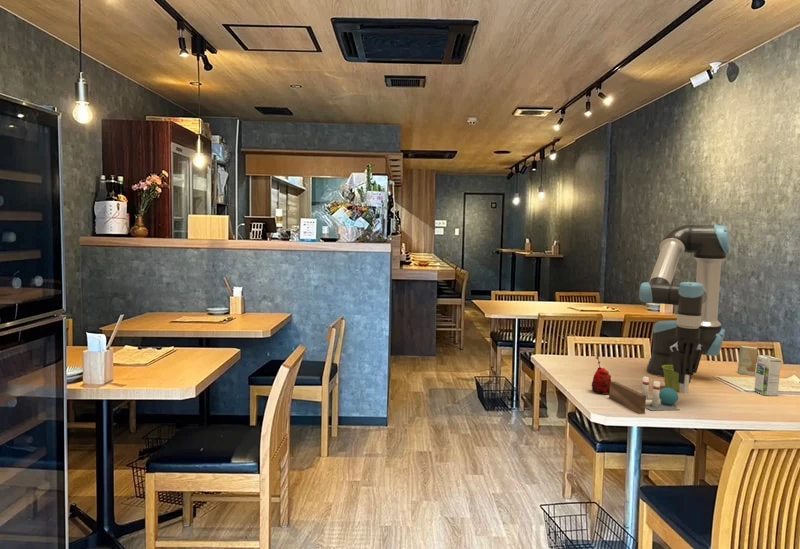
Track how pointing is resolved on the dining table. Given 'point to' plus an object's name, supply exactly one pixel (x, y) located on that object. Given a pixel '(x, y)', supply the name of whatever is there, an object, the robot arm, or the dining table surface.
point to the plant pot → (671, 377)
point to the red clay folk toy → (601, 380)
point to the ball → (668, 396)
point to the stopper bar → (627, 397)
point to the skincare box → (747, 360)
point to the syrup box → (767, 375)
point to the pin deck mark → (661, 407)
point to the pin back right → (645, 386)
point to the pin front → (649, 403)
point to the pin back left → (655, 394)
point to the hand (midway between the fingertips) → (683, 392)
